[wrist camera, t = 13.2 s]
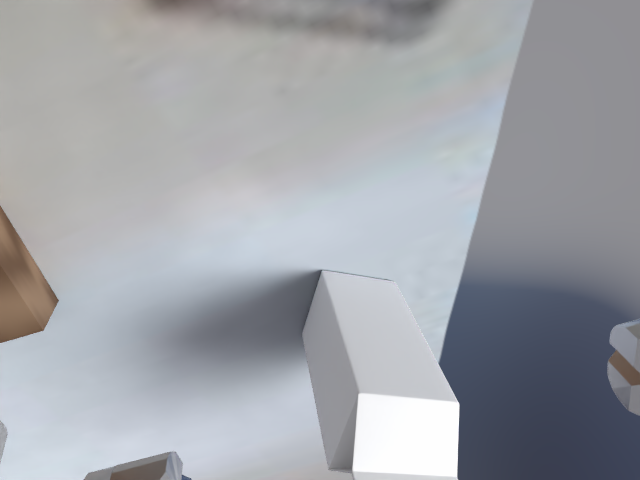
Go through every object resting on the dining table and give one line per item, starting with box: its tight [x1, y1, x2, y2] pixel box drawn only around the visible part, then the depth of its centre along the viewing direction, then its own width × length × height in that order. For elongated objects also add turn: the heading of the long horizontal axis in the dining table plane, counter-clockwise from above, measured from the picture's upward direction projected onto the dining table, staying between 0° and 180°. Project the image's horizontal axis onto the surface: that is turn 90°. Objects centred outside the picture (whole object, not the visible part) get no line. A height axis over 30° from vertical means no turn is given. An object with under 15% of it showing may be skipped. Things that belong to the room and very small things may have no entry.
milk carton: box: [302, 271, 459, 480], centre depth 39 cm, size 7×7×19 cm
